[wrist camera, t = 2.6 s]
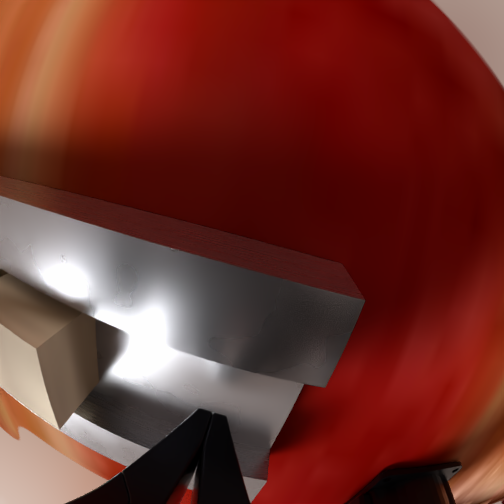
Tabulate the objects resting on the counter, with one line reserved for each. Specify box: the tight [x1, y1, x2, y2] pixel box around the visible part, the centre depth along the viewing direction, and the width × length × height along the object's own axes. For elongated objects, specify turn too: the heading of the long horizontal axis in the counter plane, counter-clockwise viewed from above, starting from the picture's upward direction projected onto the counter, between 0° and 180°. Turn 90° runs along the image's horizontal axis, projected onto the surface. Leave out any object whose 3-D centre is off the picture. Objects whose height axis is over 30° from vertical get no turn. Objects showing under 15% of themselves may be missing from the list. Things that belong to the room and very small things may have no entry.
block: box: [0, 273, 99, 430], centre depth 7 cm, size 4×4×3 cm
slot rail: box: [0, 176, 365, 503], centre depth 8 cm, size 20×10×3 cm, turn 76°
